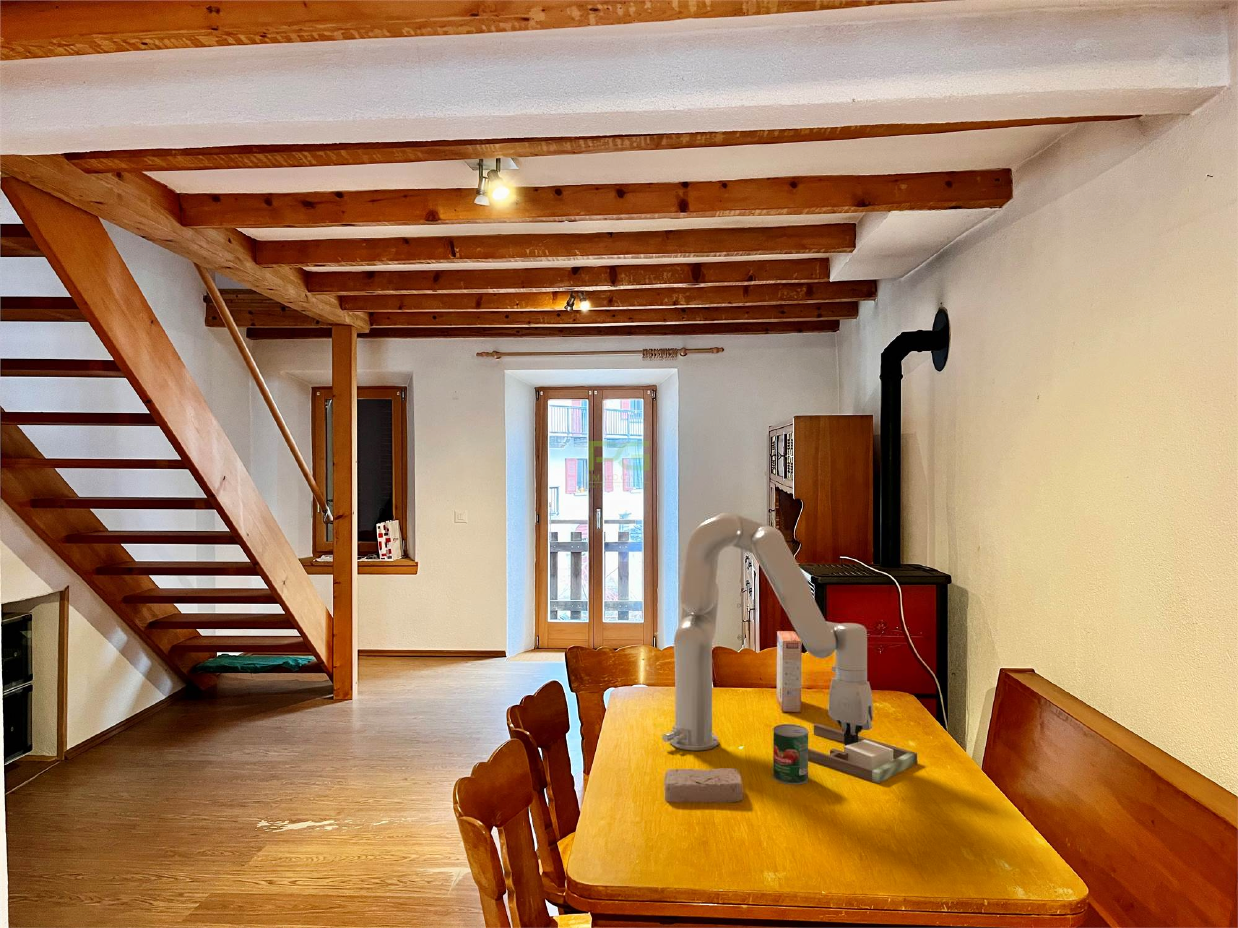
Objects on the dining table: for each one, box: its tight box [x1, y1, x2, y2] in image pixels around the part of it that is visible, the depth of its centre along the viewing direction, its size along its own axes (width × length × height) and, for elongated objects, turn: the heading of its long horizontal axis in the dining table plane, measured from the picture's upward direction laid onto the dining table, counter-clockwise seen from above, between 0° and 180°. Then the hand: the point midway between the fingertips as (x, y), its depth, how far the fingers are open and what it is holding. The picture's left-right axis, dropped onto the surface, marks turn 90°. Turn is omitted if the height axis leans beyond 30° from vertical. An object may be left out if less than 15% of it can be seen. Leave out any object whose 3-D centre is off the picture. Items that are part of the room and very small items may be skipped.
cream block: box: [843, 740, 894, 770], centre depth 183 cm, size 8×8×4 cm
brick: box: [663, 767, 744, 803], centre depth 165 cm, size 17×8×5 cm, turn 89°
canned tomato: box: [772, 723, 810, 786], centre depth 174 cm, size 8×8×11 cm
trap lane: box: [808, 723, 918, 784], centre depth 187 cm, size 18×28×2 cm, turn 42°
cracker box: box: [776, 630, 803, 713], centre depth 227 cm, size 14×6×21 cm, turn 174°
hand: (851, 748), depth 188 cm, fingers closed
